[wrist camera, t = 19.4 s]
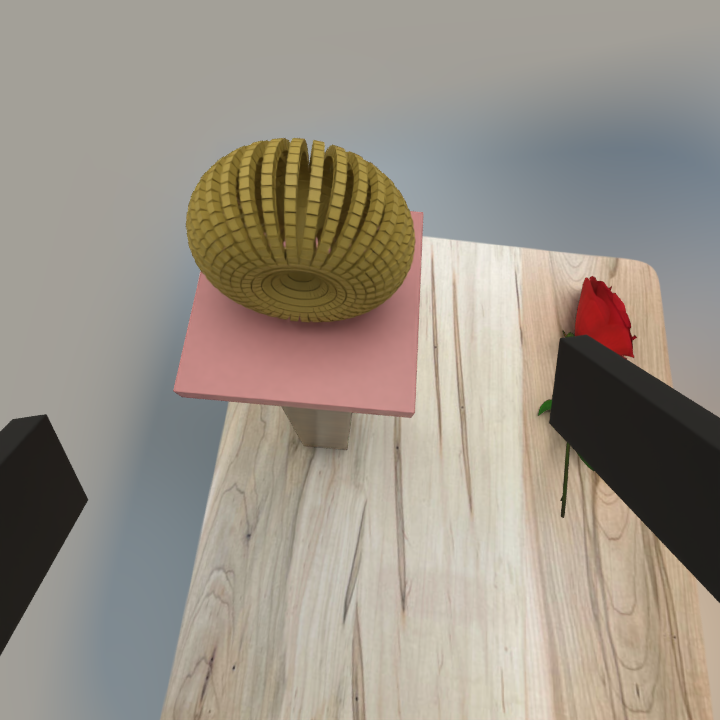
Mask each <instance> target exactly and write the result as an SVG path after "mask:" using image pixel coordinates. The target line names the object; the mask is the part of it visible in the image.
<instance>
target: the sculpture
mask: <svg viewBox="0 0 720 720" xmlns="http://www.w3.org/2000/svg"><path fill="white" fill-rule="evenodd" d="M288 142H289V140H287V139H285V138H279V139H277V140H276V139H272V140H271V141H267V140H266V141H258V143H257V142H255V143H252V144H251V145H248V146H243V147H240V148H239V149H236V150H235V151H232V152H231V153H229V154H228V156H227V155H226V156H225V157H224V158H223V157H222V158H221V160H218V161H217V162H216V163H215V164H214V165H213V166H211V169H209V170H208V171H207V172H205V173H204V175H203V176H202V177H201V178H202V179H200V182H199V183H198V184H197V186H196V188H195V191H193V192H194V193H192V196H191V197H192V198H191V199H190V202H189V205H188V212H187V221H186V228H187V237H188V241H189V242H188V244H189V248H191V249H190V250H192V251H191V252H192V256H193V257H194V259H195V262H196V264H197V266H198V267H199V268H200V270H201V272H202V273H203V274H204V275H206V277H205V278H206V279H207V280H208V281H209V282H210V283H211V284H212V285H213V286H214V287H215V288H217V289H218V291H219V292H222V294H223V295H225V296H227V297H228V298H229V299H231V300H233V301H234V302H236V303H237V304H240V305H242V306H243V307H245V308H246V307H247V309H248V308H249V309H250V310H253V311H255V312H257V313H260V314H265V315H267V316H270V317H278V318H279V319H284V320H287V319H288V318H289V317H290V321H293V320H294V321H297V322H298V320H299V315H300V319H301V322H303V321H304V322H310V321H312V322H333V321H340V320H343V319H344V320H345V319H350V318H354V317H356V316H360V315H362V314H365V313H367V312H370V310H373V309H376V308H377V307H379V306H380V305H381V304H383V303H384V302H385V301H387V299H390V298H391V297H392V295H393V294H394V293H395V292H396V291H397V289H399V288H400V287H401V285H402V284H403V281H404V280H405V277H407V274H408V272H409V271H410V268H411V265H412V264H411V263H412V262H413V259H414V258H413V256H414V251H415V250H414V248H415V246H414V245H415V244H416V240H415V230H414V223H413V219H412V216H411V213H410V210H409V209H408V207H407V204H406V201H405V200H404V198H403V196H401V195H402V194H401V193H400V191H399V190H397V188H396V187H395V186H394V183H393V182H392V181H391V180H390V179H389V178H388V177H387V176H386V175H385V174H384V173H382V172H381V171H380V170H379V169H378V168H377V167H375V166H373V164H372V163H371V162H370V163H369V162H368V161H367V162H366V161H365V160H363V158H362V157H361V156H359V155H357V154H355V153H352V152H348V153H347V152H345V150H344V149H343V148H341V147H338V146H335V145H332V146H330V147H329V149H327V150H326V152H325V153H324V147H325V146H324V142H320V141H316V140H314V141H313V145H312V151H311V157H310V163H309V155H308V152H307V151H308V148H307V143H306V141H305V139H300V138H293V139H292V141H291V143H290V142H289V143H288ZM206 173H207V174H206ZM238 202H239V203H238ZM361 204H362V205H361ZM242 222H243V223H242ZM244 223H245V224H244ZM379 227H380V228H379ZM249 235H250V236H249ZM371 235H372V236H371ZM316 238H317V239H318V240H317V241H318V245H317V247H316ZM240 240H241V241H240ZM214 241H215V242H214ZM284 242H285V243H286V245H285V246H284V244H283V243H284ZM385 244H386V245H385ZM269 245H271V246H269ZM270 247H271V248H270ZM285 247H286V248H285ZM329 247H330V248H331V249H330V248H329ZM368 247H369V248H368ZM316 248H317V249H316ZM328 249H330V251H331V252H330V251H329V250H328ZM221 251H222V252H221ZM364 251H365V252H364ZM329 252H330V253H329ZM236 254H237V255H236ZM368 260H369V261H368ZM373 283H374V284H373Z"/></svg>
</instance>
